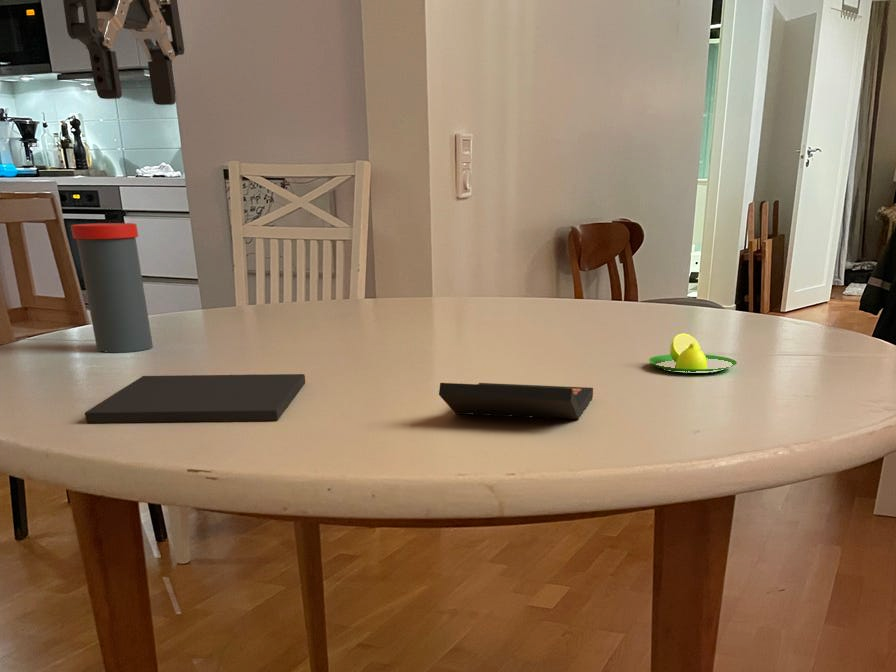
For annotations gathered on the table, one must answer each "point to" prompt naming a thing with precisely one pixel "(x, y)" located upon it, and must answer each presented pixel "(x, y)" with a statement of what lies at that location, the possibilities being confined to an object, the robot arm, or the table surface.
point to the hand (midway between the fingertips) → (138, 101)
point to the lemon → (687, 356)
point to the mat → (200, 399)
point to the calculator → (516, 399)
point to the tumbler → (114, 285)
